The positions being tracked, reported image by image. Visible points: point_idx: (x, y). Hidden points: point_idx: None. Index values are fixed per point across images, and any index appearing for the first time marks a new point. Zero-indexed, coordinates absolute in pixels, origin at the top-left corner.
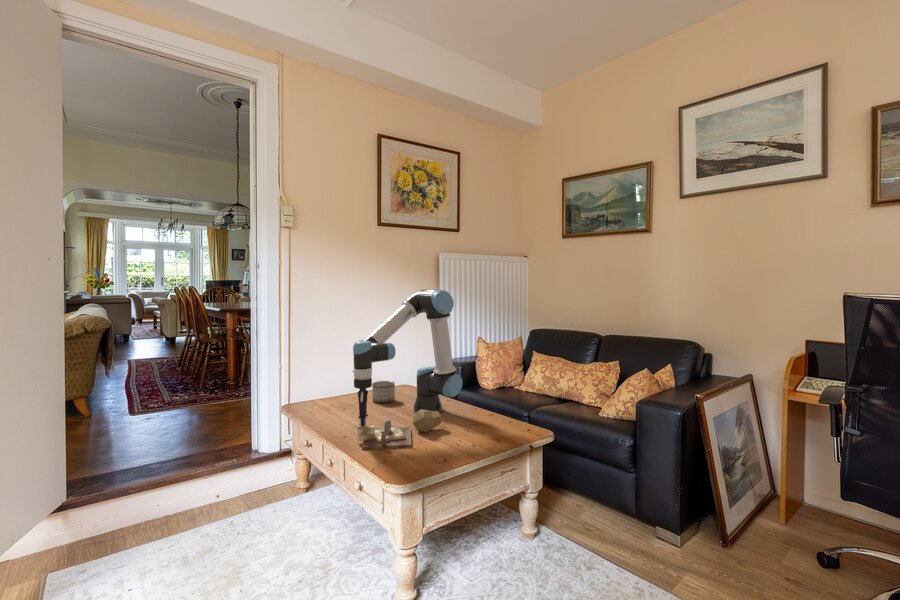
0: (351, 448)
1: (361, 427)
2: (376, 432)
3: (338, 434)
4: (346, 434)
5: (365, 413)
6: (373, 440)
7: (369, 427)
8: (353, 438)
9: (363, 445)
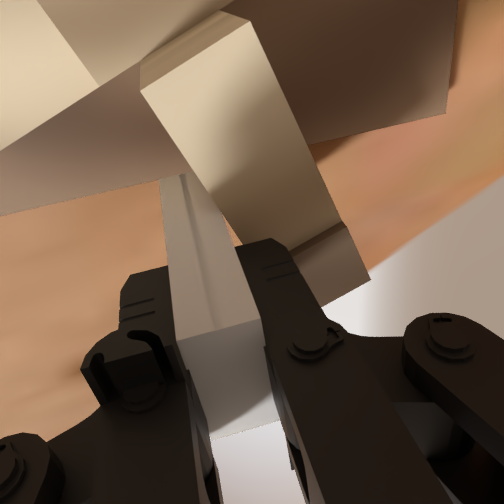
0: (375, 214)
1: (315, 260)
2: (40, 22)
3: (51, 423)
4: (28, 376)
5: (402, 428)
6: (252, 19)
7: (277, 134)
8: (120, 286)
9: (410, 108)
